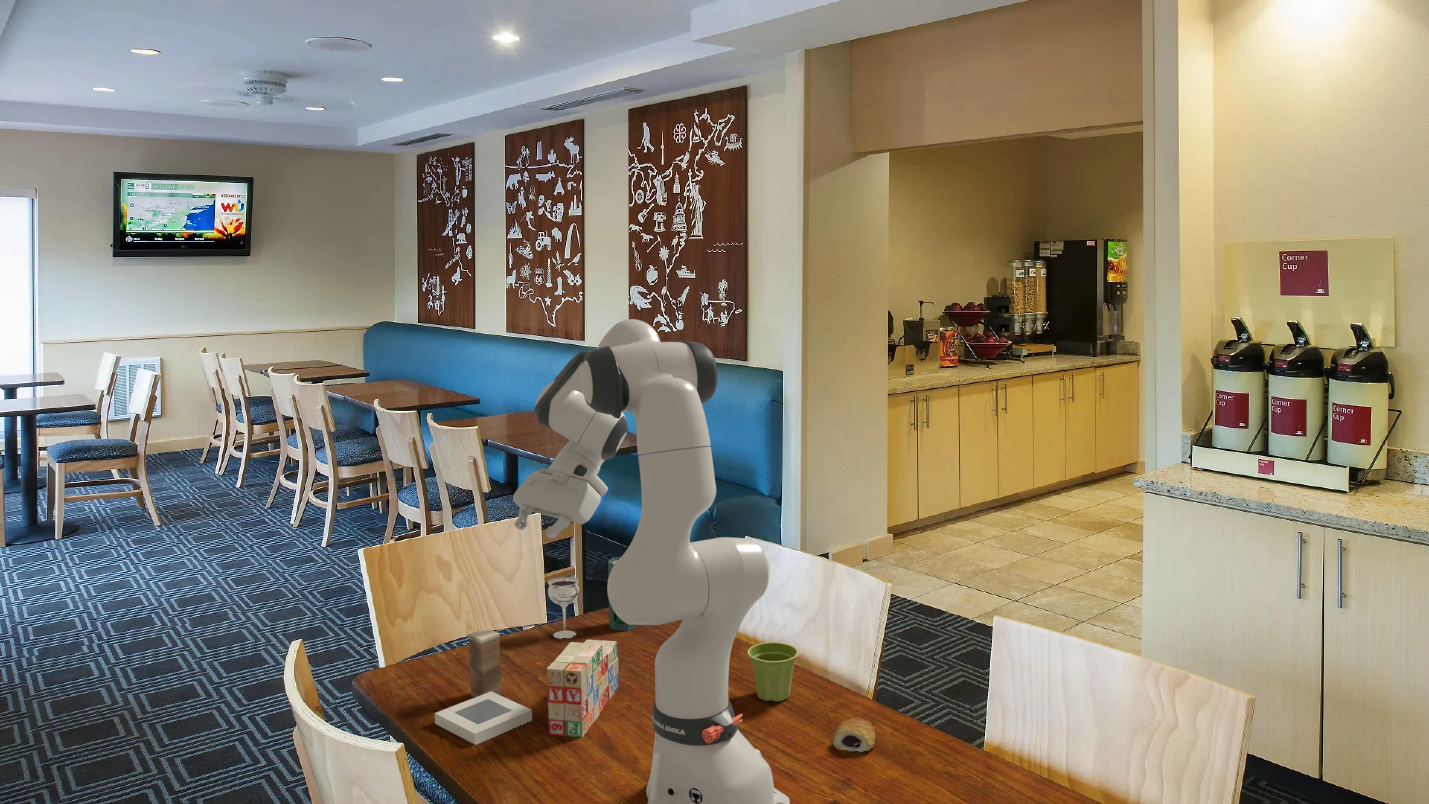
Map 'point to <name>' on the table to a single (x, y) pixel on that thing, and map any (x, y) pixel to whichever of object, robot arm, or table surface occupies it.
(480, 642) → the brown tall block
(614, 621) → the can
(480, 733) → the plate
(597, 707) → the stack of blocks
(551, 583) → the wineglass
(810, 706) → the table surface
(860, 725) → the pastry
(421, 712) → the table surface
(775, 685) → the plant pot
